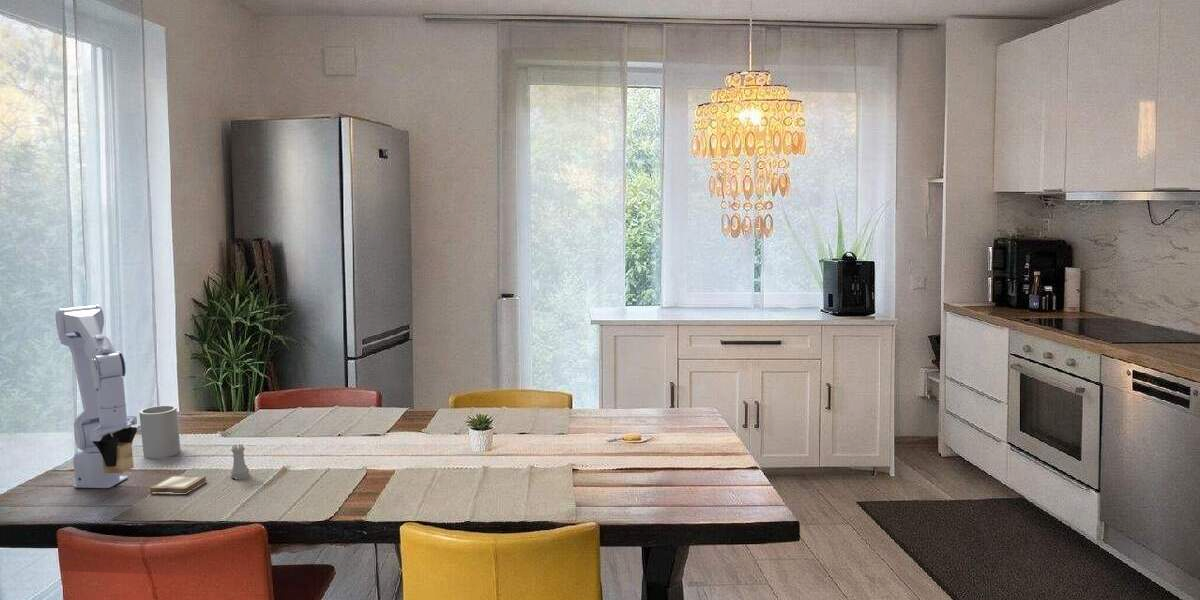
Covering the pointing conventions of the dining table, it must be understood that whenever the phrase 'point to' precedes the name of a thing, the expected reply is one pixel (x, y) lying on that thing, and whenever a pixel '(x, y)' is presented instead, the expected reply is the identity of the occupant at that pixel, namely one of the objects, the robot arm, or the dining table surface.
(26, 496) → the dining table surface
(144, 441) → the cup
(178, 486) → the picture frame
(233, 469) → the rook chess piece
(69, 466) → the dining table surface
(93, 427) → the robot arm
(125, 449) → the oak block
